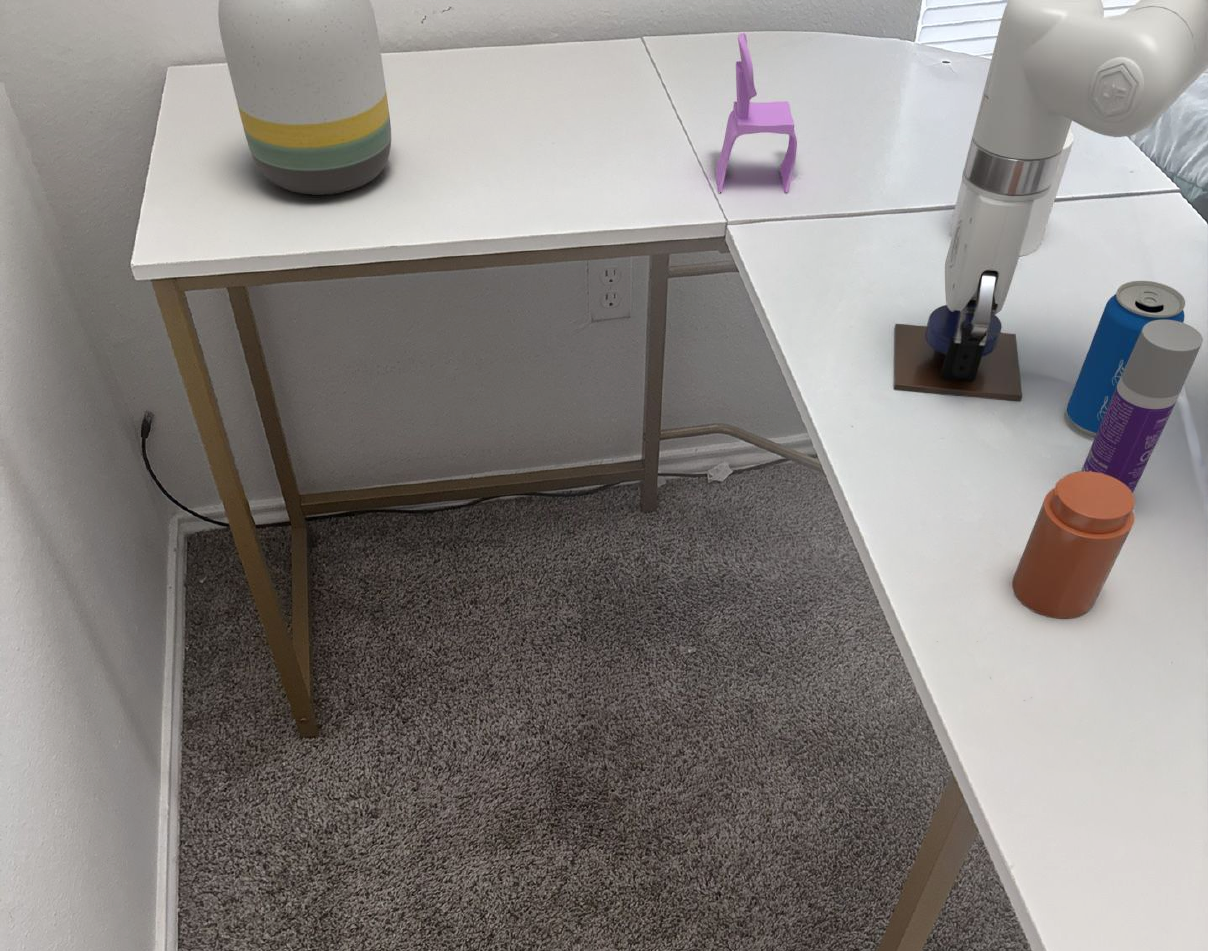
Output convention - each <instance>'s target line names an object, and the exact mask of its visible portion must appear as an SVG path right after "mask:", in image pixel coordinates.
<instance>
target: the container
mask: <svg viewBox="0 0 1208 951" xmlns="http://www.w3.org/2000/svg"><path fill="white" fill-rule="evenodd" d="M1203 342H1204V339H1203V336H1202V334H1201V333H1200V331H1199V330H1198V329H1196V328H1195V327H1193V326H1191V325H1189V324H1187V323H1184V322H1183V323H1182V322H1179V321H1174V320H1155V321H1151V322H1149V323H1147V324H1146V325H1145V326H1144V327H1143V329H1142V331H1141V333H1140V336H1139V338H1138V340H1137V342H1136V344H1135V347H1134V349H1133V351H1132V353H1131V355H1130V358H1129V360H1128V362H1127V364H1126V367H1125V369H1124V371H1123V373H1122V375H1121V378H1120V380H1119V382H1118V384H1117V386H1116V389H1115V391H1114V394H1113V396H1112V398H1111V401H1110V403H1109V406H1108V408H1107V410H1106V413H1105V415H1104V417H1103V420H1102V422H1101V425H1100V427H1099V429H1098V432H1097V434H1096V437H1095V436H1094V439H1093V442H1092V443H1091V446H1090V449H1089V451H1088V453H1087V456H1086V459H1085V460H1084V463H1083V465H1082V467H1081V470H1080V472H1082V471H1089V472H1098V473H1102V474H1106V475H1109V476H1111V477H1114V478H1116V479H1118V480H1119V481H1121V482H1122V483H1124V484H1125V485H1126V486H1127V487H1128V488H1129V489H1130V490H1131V492H1132V493H1133V494H1134V492H1135V490H1136V488H1137V486H1138V484H1139V482H1140V479H1141V477H1142V475H1143V473H1144V471H1145V469H1146V467H1147V464H1148V463H1149V460H1150V459H1151V456H1152V454H1153V452H1154V450H1155V448H1156V446H1157V444H1158V442H1159V439H1160V438H1161V435H1162V434H1163V431H1164V429H1165V427H1166V425H1167V423H1168V421H1169V418H1170V416H1171V414H1172V412H1173V410H1174V408H1175V406H1176V403H1177V401H1178V399H1179V397H1180V394H1181V392H1182V390H1183V388H1184V385H1185V383H1186V381H1187V378H1188V377H1189V374H1190V371H1191V369H1192V367H1193V365H1194V363H1195V360H1196V359H1197V356H1198V353H1199V352H1200V349H1201V347H1202V345H1203Z"/></svg>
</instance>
